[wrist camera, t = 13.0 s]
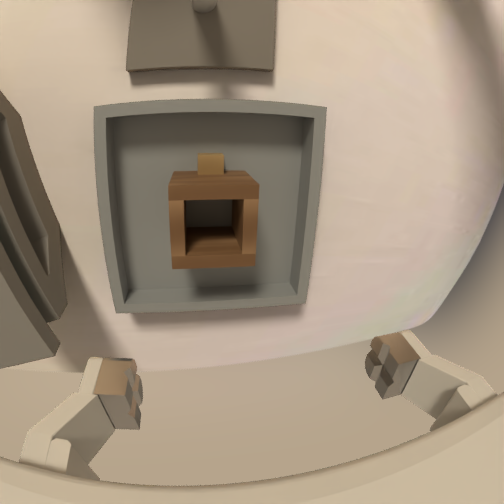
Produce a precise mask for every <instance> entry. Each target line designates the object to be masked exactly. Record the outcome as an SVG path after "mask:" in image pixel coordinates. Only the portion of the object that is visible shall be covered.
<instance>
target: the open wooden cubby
mask: <svg viewBox="0 0 504 504" xmlns="http://www.w3.org/2000/svg"><path fill="white" fill-rule="evenodd" d="M259 186H260V185H259V184H258V183H257V182H256V181H255V180H254V179H253V178H252V177H251V176H250V175H249V174H248V173H247V172H246V171H239V170H224V155H223V154H222V153H198V168H197V171H174V172H173V174H172V177H171V179H170V182H169V185H168V201H169V225H170V243H171V259H172V269H196V268H223V267H247V266H255V259H256V241H257V223H258V204H259ZM219 199H232V226H220V227H186V200H219Z"/></svg>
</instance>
